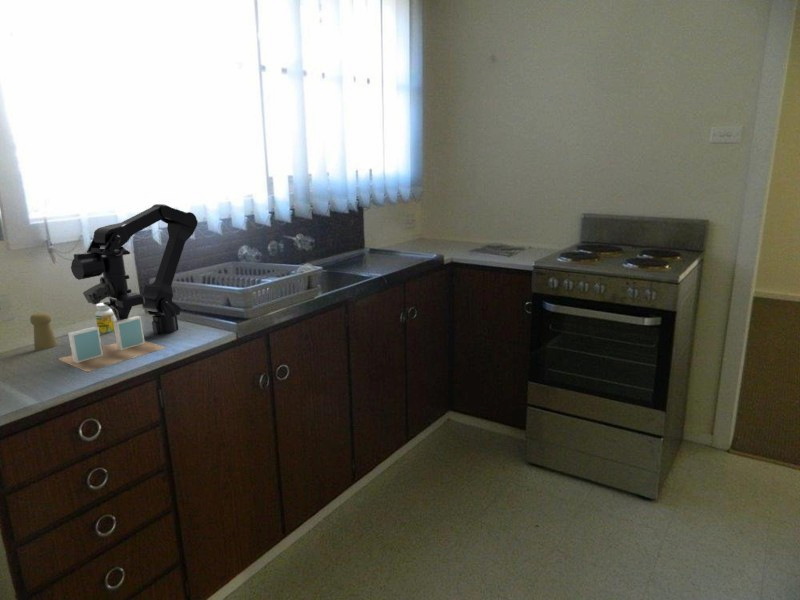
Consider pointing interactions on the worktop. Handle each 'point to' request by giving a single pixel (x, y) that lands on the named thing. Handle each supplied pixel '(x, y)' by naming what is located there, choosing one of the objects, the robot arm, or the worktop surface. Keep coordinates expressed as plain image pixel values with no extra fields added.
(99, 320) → the supplement bottle
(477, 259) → the worktop surface
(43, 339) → the cork
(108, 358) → the board
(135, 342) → the tile
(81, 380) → the worktop surface
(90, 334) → the tile
